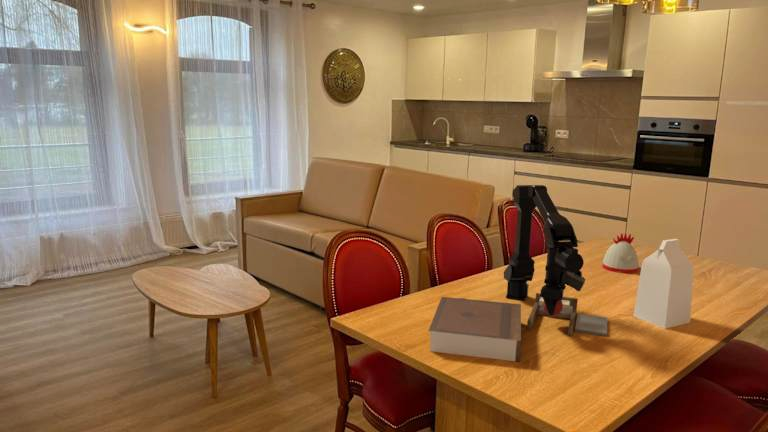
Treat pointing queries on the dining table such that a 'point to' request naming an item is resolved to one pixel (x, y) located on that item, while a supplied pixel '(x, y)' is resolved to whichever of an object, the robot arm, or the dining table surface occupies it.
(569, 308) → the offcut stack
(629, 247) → the knit hat
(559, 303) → the onion
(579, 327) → the slate board
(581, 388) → the dining table surface
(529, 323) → the rack
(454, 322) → the book
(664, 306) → the milk
